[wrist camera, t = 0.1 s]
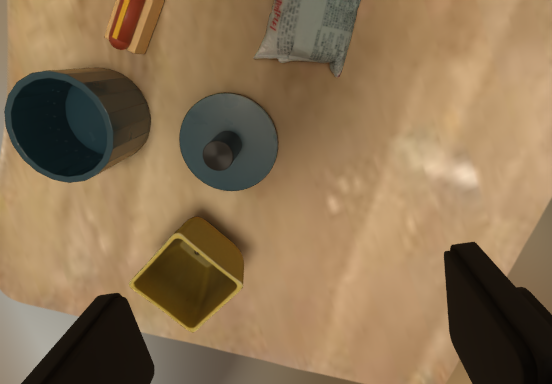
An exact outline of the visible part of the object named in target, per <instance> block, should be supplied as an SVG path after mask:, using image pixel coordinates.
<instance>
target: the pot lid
mask: <svg viewBox="0 0 552 384" xmlns="http://www.w3.org/2000/svg"><path fill="white" fill-rule="evenodd" d="M180 148H181V153H182V156H183V158H184V161H185V163H186V164H187V166H188V168H189V169H190V170H191V172H192V173H193V174H194V175H195V176H196V177H197V178H198V179H200V180H201V181H202V182H204V183H205V184H207V185H209V186H211V187H213V188H216V189H220V190H225V191H238V190H244V189H247V188H250V187H252V186H254V185H256V184H257V183H259V182H260V181H261V180H262V179H264V178H265V177H266V175H267V174H268V173H269V172H270V170H271V169H272V167H273V165H274V162H275V159H276V156H277V151H278V137H277V133H276V129H275V126H274V124H273V122H272V120H271V118H270V117H269V115H268V114H267V112H266V111H265V110H264V109H263V108H262V107H261V106H260V105H259V104H257V103H256V102H254V101H253V100H251V99H249V98H247V97H245V96H242V95H239V94H234V93H218V94H214V95H211V96H208V97H206V98H204V99H202V100H200V101H199V102H197V103H196V104H195V105H194V106H193V107H192V108H191V109H190V110H189V112H188V113H187V114H186V116H185V118H184V120H183V123H182V125H181V130H180Z"/></svg>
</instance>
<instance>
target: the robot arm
mask: <svg viewBox="0 0 552 384" xmlns="http://www.w3.org/2000/svg"><path fill="white" fill-rule="evenodd" d="M444 264H445V277H446V291H447V305H448V319H449V332H450V337H451V341H452V343H453V346H454V348H455V350H456V352H457V354H458V356H459V358H460V360H461V362H462V364H463V366H464V368H465V370H466V372H467V373H468V376H469V378H470V380H471V382H472V384H552V315H551V314H550V312H548V310H547V309H546V308H545V307H544V306H543V305H542V304H541V303H540V302H539V301H538V300H537V299H536V298H535V296H533V294H532V293H531V292H529V291H528V290H527V289H526V288H523V287H517V288H516V287H515V286H514V285H513V284H512V283H511V281H510V280H509V279H508V278H507V277H506V276H505V275H504V274H503V273H502V271H501V270H500V269H499V268H498V267H497V266H496V265H495V264H494V263H493V261H492V260H491V259H490V258H489V257H488V256H487V255H486V254H485V252H484V251H483V250H482V249H481V248H480V247H479V246H478V245H477V244H476V243H475V242H469V243H462V244H455V245H452V246H451V248H450V251H445V252H444ZM153 376H154V364H153V361H152V359H151V356H150V354H149V351H148V349H147V347H146V344H145V342H144V339H143V337H142V335H141V332H140V330H139V327H138V325H137V322H136V320H135V317H134V315H133V312H132V310H131V308H130V305H129V303H128V301H127V299H126V298H125V297H122V296H121V295H120V294H119V293H113V294H106V295H100V296H98V297H96V298H95V300H94V301H93V302H92V303H91V304H90V305H89V306H88V308H87V309H86V310H85V311H84V312H83V313H82V314H81V316H80V317H79V318H78V319H77V320H76V321H75V322H74V324H73V325H72V326H71V327H70V328H69V329H68V331H67V332H66V333H65V334H64V335H63V336H62V337H61V339H60V340H59V341H58V342H57V343H56V344H55V345H54V347H53V348H52V349H51V350H50V351H49V352H48V354H47V355H46V356H45V357H44V358H43V359H42V360H41V361H40V363H39V364H38V365H37V366H36V367H35V368H34V369H33V371H32V372H31V373H30V374H29V375H28V376H27V377H26V379H25V380H24V381H23V382H22V383H21V384H150V383H151V381H152V378H153Z"/></svg>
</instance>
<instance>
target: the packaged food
mask: <svg viewBox="0 0 552 384" xmlns="http://www.w3.org/2000/svg"><path fill="white" fill-rule="evenodd" d="M360 1H361V0H274V5H273V6H272V13H271V14H270V16H269V21H268V25H267V30H266V35H265V37H264V39H263V41H262V43H261V45H260V47H259V49H258V51H257V53H256V54H255V56H254V59H261V58H269V59H272V58H277V59H279V60H278V61H279V62H280V63H285V62H290V61H311V62H320V63H328V62H329V64H330V69H331V71H332V72H333V73H334V75H335V77H339V76H340V74H341V72H342V69H343V66H344V62H345V59H346V55H347V51H348V47H349V43H350V40H351V37H352V32H353V28H354V23H355V20H356V15H357V9H358V7H359V4H360Z"/></svg>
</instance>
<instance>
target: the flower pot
mask: <svg viewBox="0 0 552 384" xmlns="http://www.w3.org/2000/svg"><path fill="white" fill-rule="evenodd" d="M196 251H197V252H198V253H199V254H196V253H195V252H196ZM243 277H244V261H243V257H242V254H241V252H240V251H239V249H238V248H237V247H236V246H235V245H234V244H233V243H232V242H231V241H230V240H229V239H228V238H226V237H225V236H224V235H223V234H222V233H220V232H219V231H218V230H217V229H215V228H214V227H213V226H212V225H211V224H210V223H208V222H207V221H206V220H204V219H203V218H200V217H193V218H191V219H189V220H188V221H187V222H185V223H184V225H183V226H182V227H181V228H179V229H178V230H177V231H176V232H175V233H174V234H173V235H172V236H171V237H170V239H169V240H168V241H167V242H166V243H165V244H164V245H163V246H162V247H161V249H160V250H159V251H158V252H157V253H156V254H155V255H154V256H153V257H152V258H151V259H150V261H149V262H148V263H147V264H146V265H145V266H144V267H143V268H142V269H141V270H140V271H139V272H138V273H137V274H136V275H135V276H134V277H133V278H132V280H131V281H130V282H129V287H130V288H131V289H133V290H134V291H135V292H137V293H138V294H139V295H141V296H142V297H144V298H145V299H147V300H148V301H149V302H151V303H152V304H154V305H155V306H156V307H158V308H159V309H161V310H162V311H163V312H165V313H166V314H167V315H168V316H170V317H171V318H172V319H173V320H175V321H176V322H177V323H178V324H180V325H181V326H182V327H184V328H185V329H187V330H188V331H190V332H192V333H194V332H195V331H197V330H198V329H199V328H200V327H201V326H202V325H203V324H204V323H205V322H206V321H207V320H208V319H209V318H210V317H211V316H213V315H214V314H215V313H216V312H217V311H218V310H219V309H220V308H221V307H223V306H224V305H225V304H226V303H227V302H228V301H229V300H230V299H231V298H232V297H234V296H235V295H236V294H237V293H238V292H239V291H240V290H241V289H242V288H243Z"/></svg>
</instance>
